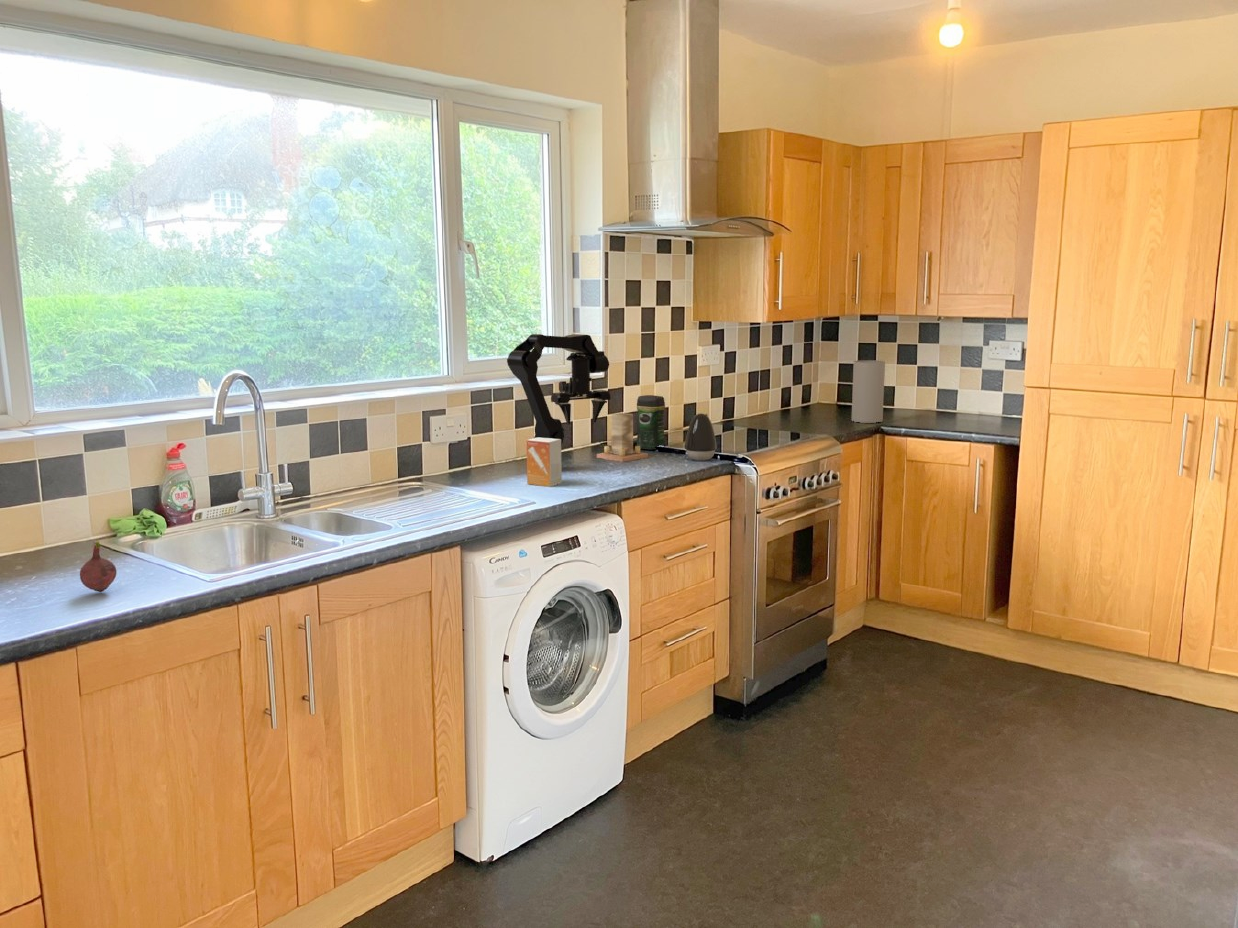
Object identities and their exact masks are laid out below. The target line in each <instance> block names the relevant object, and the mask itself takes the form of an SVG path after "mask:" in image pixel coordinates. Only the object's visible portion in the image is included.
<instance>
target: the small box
mask: <svg viewBox="0 0 1238 928" xmlns="http://www.w3.org/2000/svg"><path fill="white" fill-rule="evenodd" d="M562 471H563V470H562V447H561V439H553V438H540V437H537V438H534V437H533V438H529V439H526V483H527V485H534V486H540V487H541V486H542V487H547V488H552V487H554V485H555V486H558V485H560V484H562V483H563V482H562V480H563V479H562V475H563V473H562ZM557 484H558V485H557ZM551 486H552V487H551Z"/></svg>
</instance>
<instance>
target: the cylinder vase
mask: <svg viewBox="0 0 1238 928" xmlns="http://www.w3.org/2000/svg"><path fill="white" fill-rule="evenodd" d="M885 370H886V361H884V360H873V359H870V360H869V359H868V360H866V359H865V360H862V359H860V360H853V369H852V371H853V372H852V395H851V397H852V398H851V399H852V400H851V402H852V403H851V422H853V421H854V422H853V423H856V422H860V423H859V424H865V423H874V424H877V423H876V422H881V423H883V419H884V418H883V416H884V399H885V398H884V397H885V395H884V394H885V376H886V375H885V373H886V372H885Z"/></svg>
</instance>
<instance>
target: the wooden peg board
mask: <svg viewBox="0 0 1238 928" xmlns="http://www.w3.org/2000/svg"><path fill="white" fill-rule="evenodd" d="M603 447H604V448H603V450H604V452H601V453H596V458H597V459H604V460H610V461H615V462H620V463H623V462H624V463H626V462H629V461H635V460H639V459H645V458H646V459H647V458H649V454H648V453H646V452H641V448H640V446H637V445H635V446H634V450H633V453H632V454H626V455H625V449H623V448H622V449H619V454H620V455H619V454H613V453H612V450H611V446H609V445H605V446H604V445H603Z"/></svg>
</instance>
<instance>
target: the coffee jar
mask: <svg viewBox="0 0 1238 928" xmlns="http://www.w3.org/2000/svg"><path fill="white" fill-rule="evenodd" d="M636 400H637V401H636V410H637V417H638V419H637V421H638V422H637V438H636V446H640V449H641V450H656V448H655V447H657V446H659V445H665V446H666V439H665V437H666V436H665V425H664V412H665V409H666V402H665V398H664V397H663V396H661V395H652V394H651V395H649V394H645V395H639V396H638V397H637V399H636Z"/></svg>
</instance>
